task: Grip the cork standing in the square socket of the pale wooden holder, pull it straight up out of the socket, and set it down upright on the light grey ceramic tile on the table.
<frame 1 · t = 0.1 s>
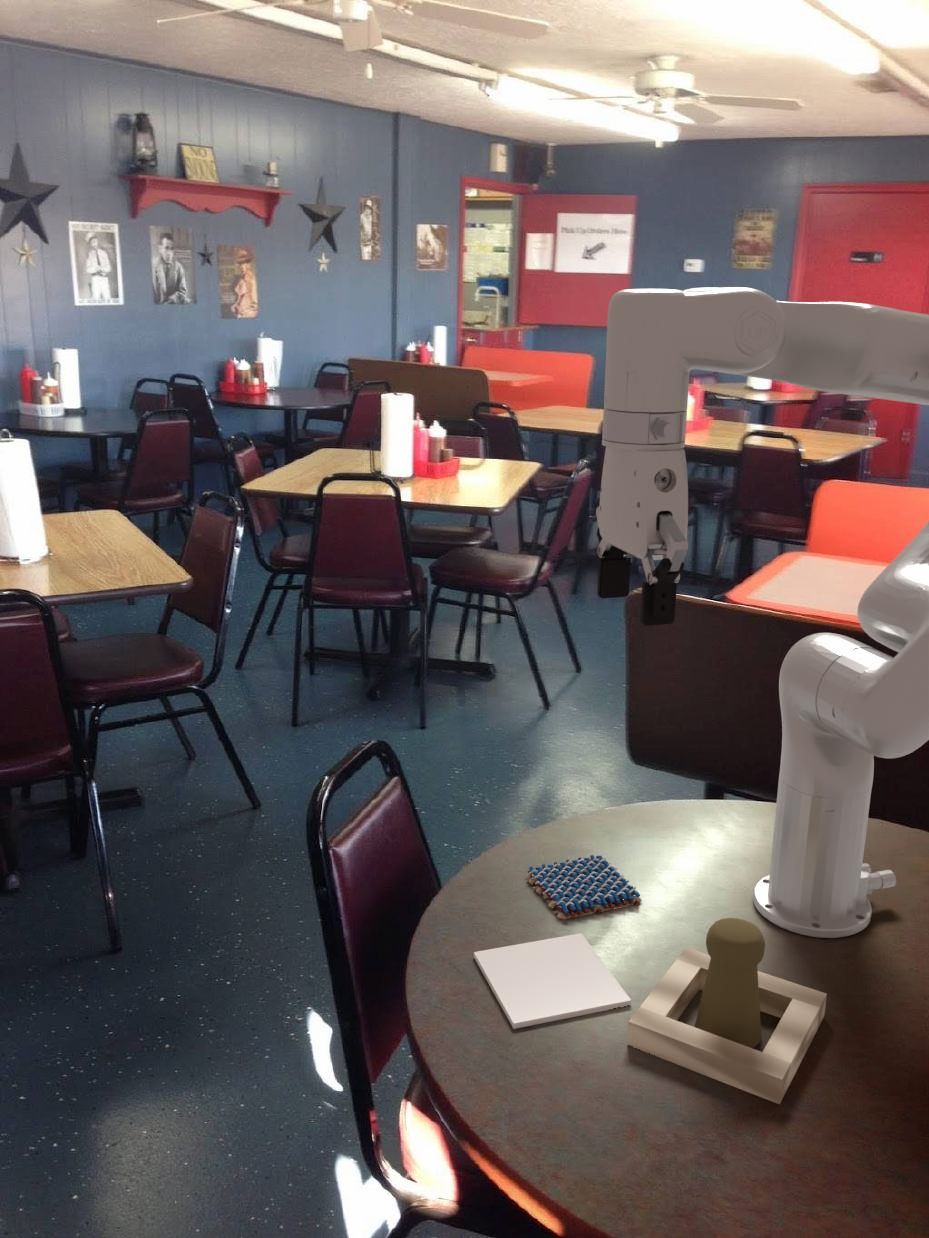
hand: (634, 609, 104), 37 cm above the table, tool pointing down, fingers open, 9 cm apart
wooden holder: (727, 1030, 101), on the table
woven mat: (581, 895, 125), on the table
cork: (727, 1032, 101), resting in wooden holder
ceramic tile: (549, 980, 108), on the table
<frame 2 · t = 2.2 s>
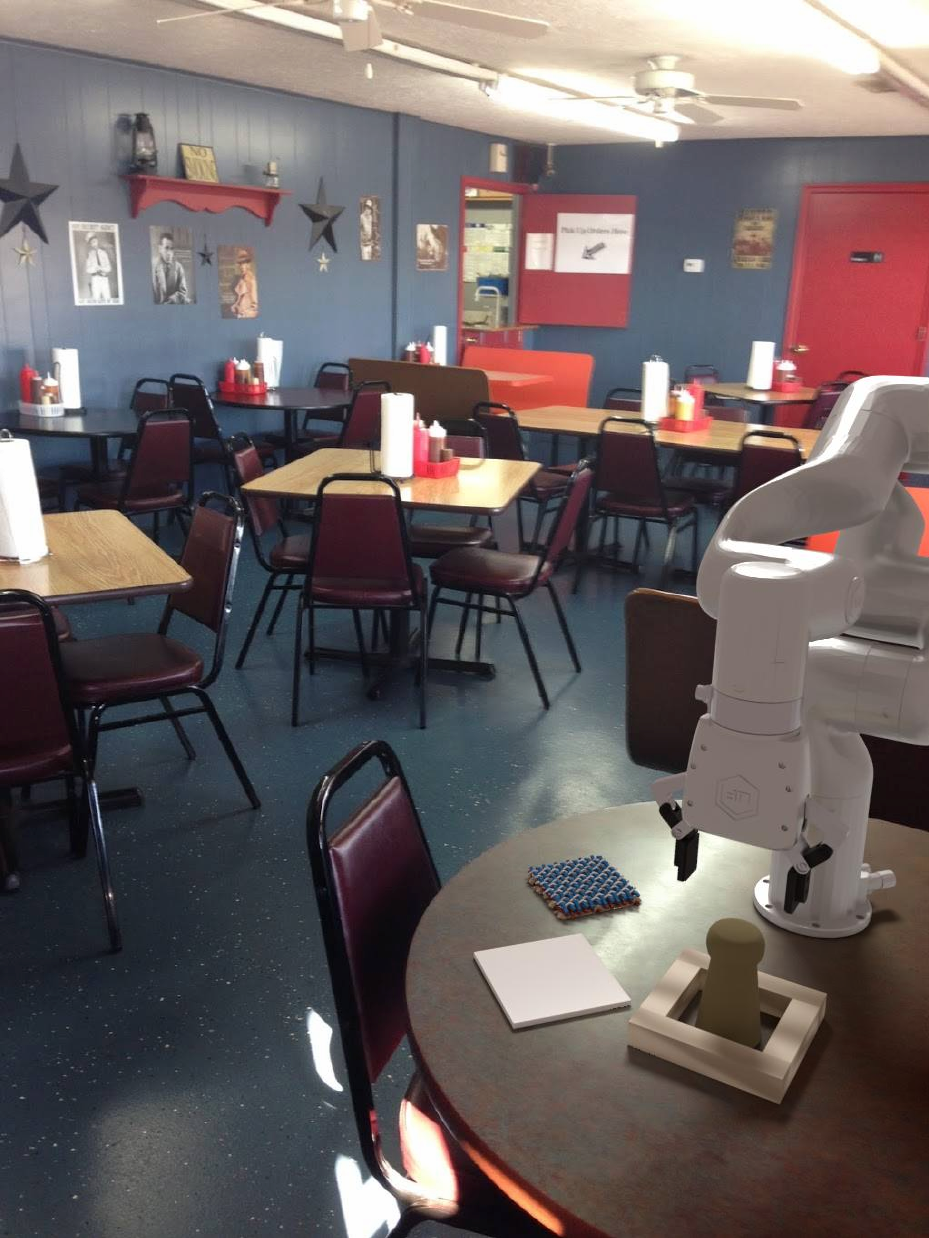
hand: (738, 890, 96), 15 cm above the table, tool pointing down, fingers open, 9 cm apart
nothing on the table moved.
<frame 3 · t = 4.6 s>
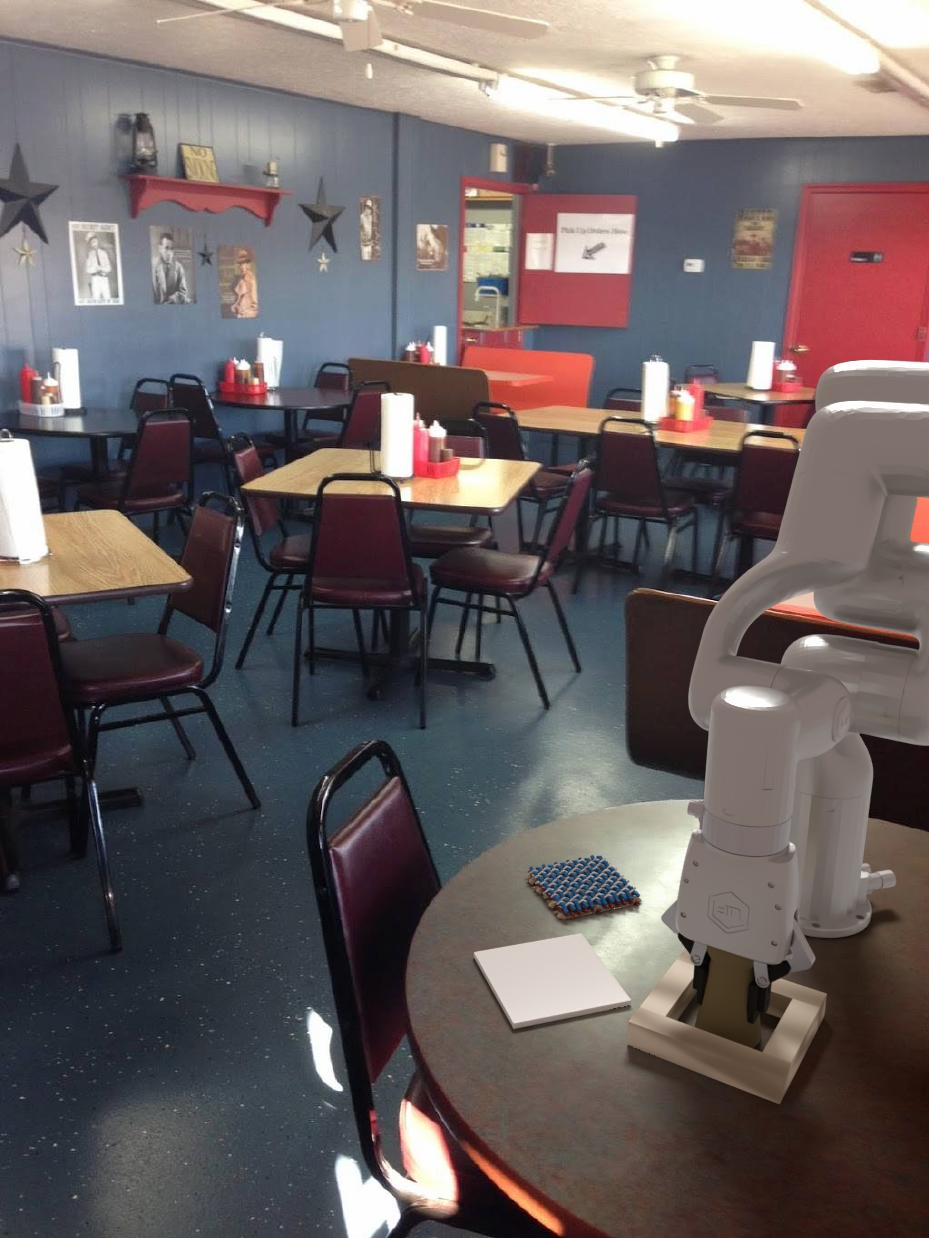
hand: (729, 1004, 100), 3 cm above the table, tool pointing down, fingers closed on cork, 4 cm apart
cork: (727, 1032, 101), resting in wooden holder, touching gripper
everything else where it was.
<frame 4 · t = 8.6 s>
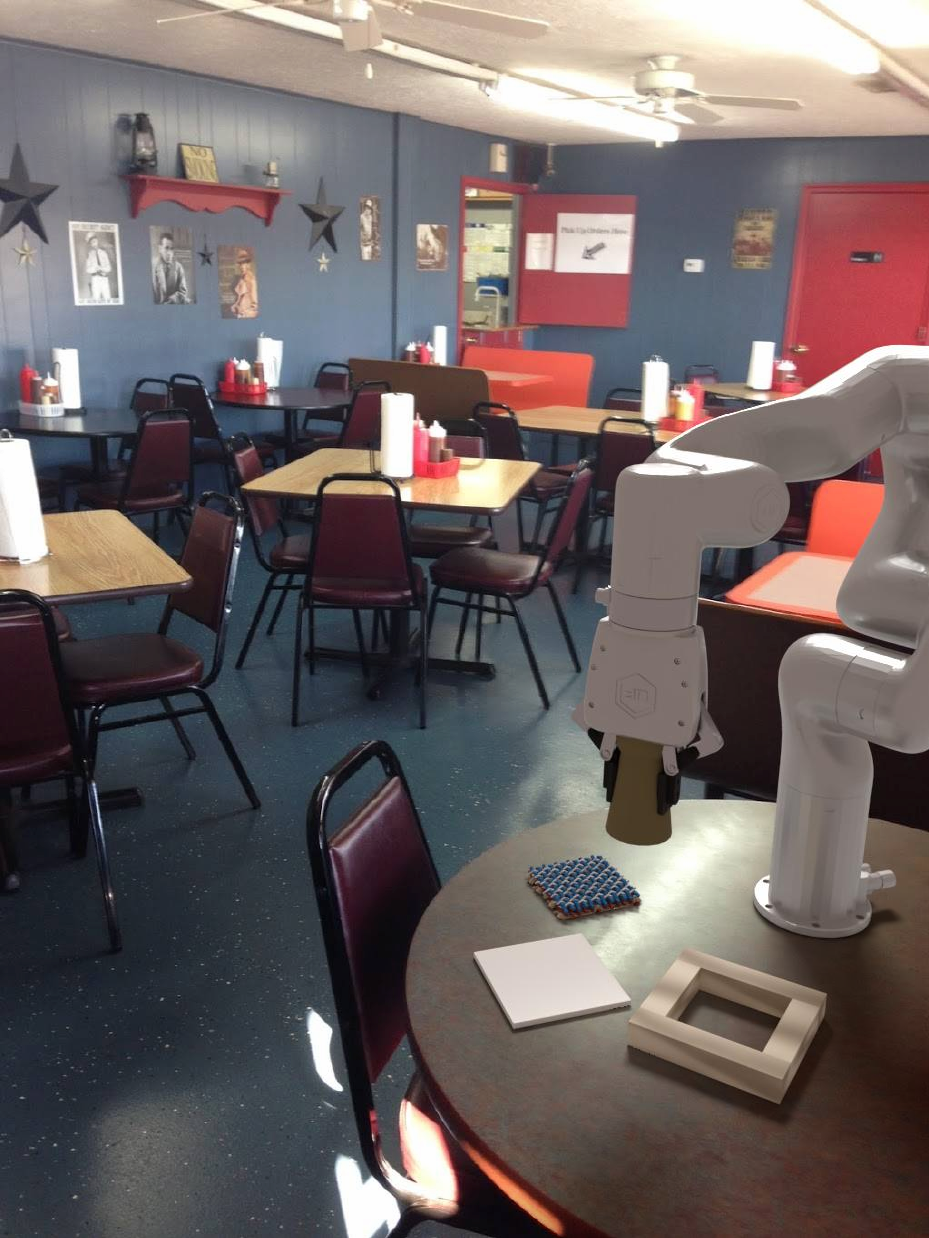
hand: (640, 801, 98), 21 cm above the table, tool pointing down, fingers closed on cork, 4 cm apart
cork: (638, 832, 99), point 18 cm above the table, touching gripper
everything else where it was.
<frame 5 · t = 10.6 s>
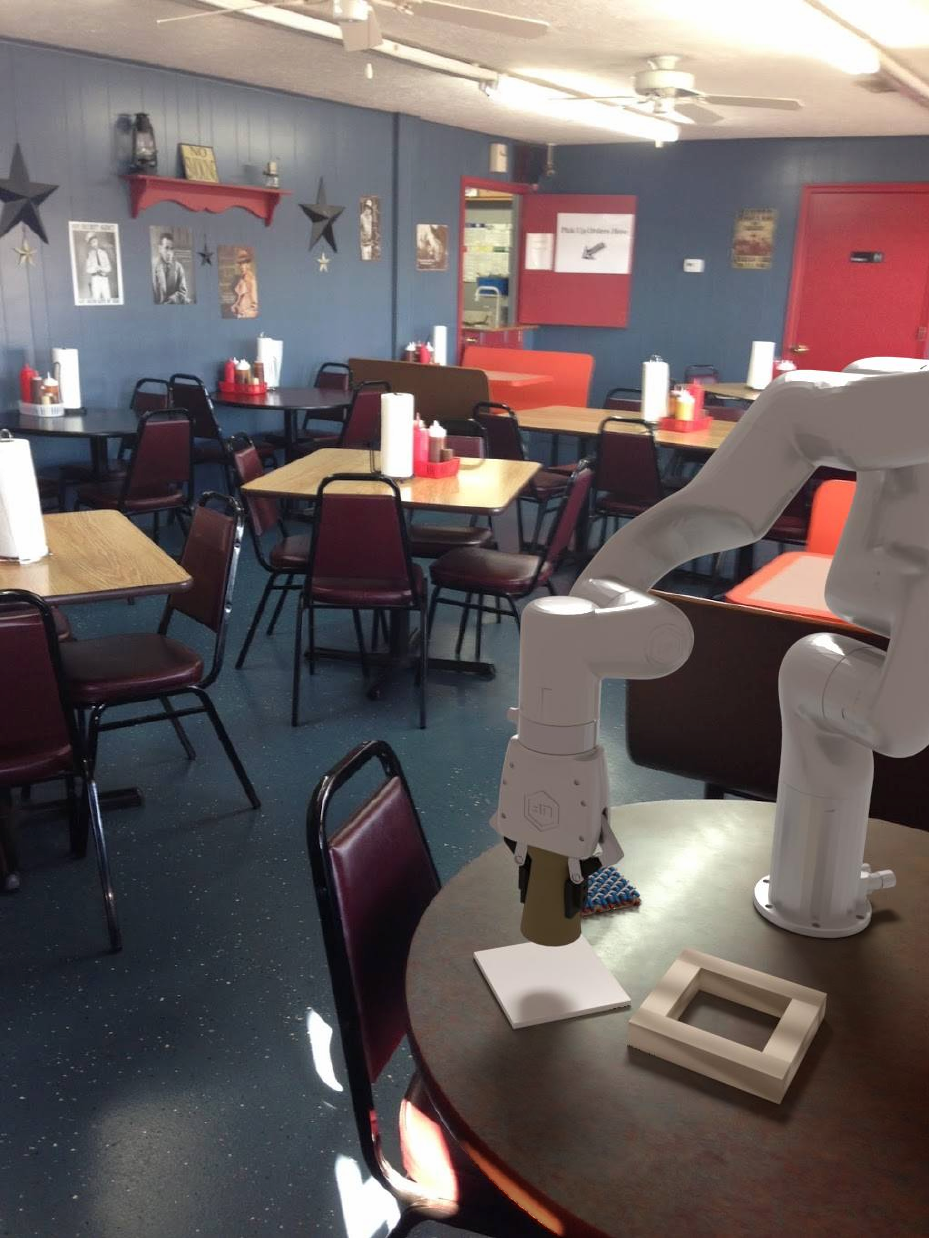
hand: (552, 903, 106), 9 cm above the table, tool pointing down, fingers closed on cork, 4 cm apart
cork: (550, 930, 106), point 6 cm above the table, touching gripper
everything else where it was.
when the fingers open (4 cm above the table, at t = 12.5 s): cork stays where it is, resting on ceramic tile.
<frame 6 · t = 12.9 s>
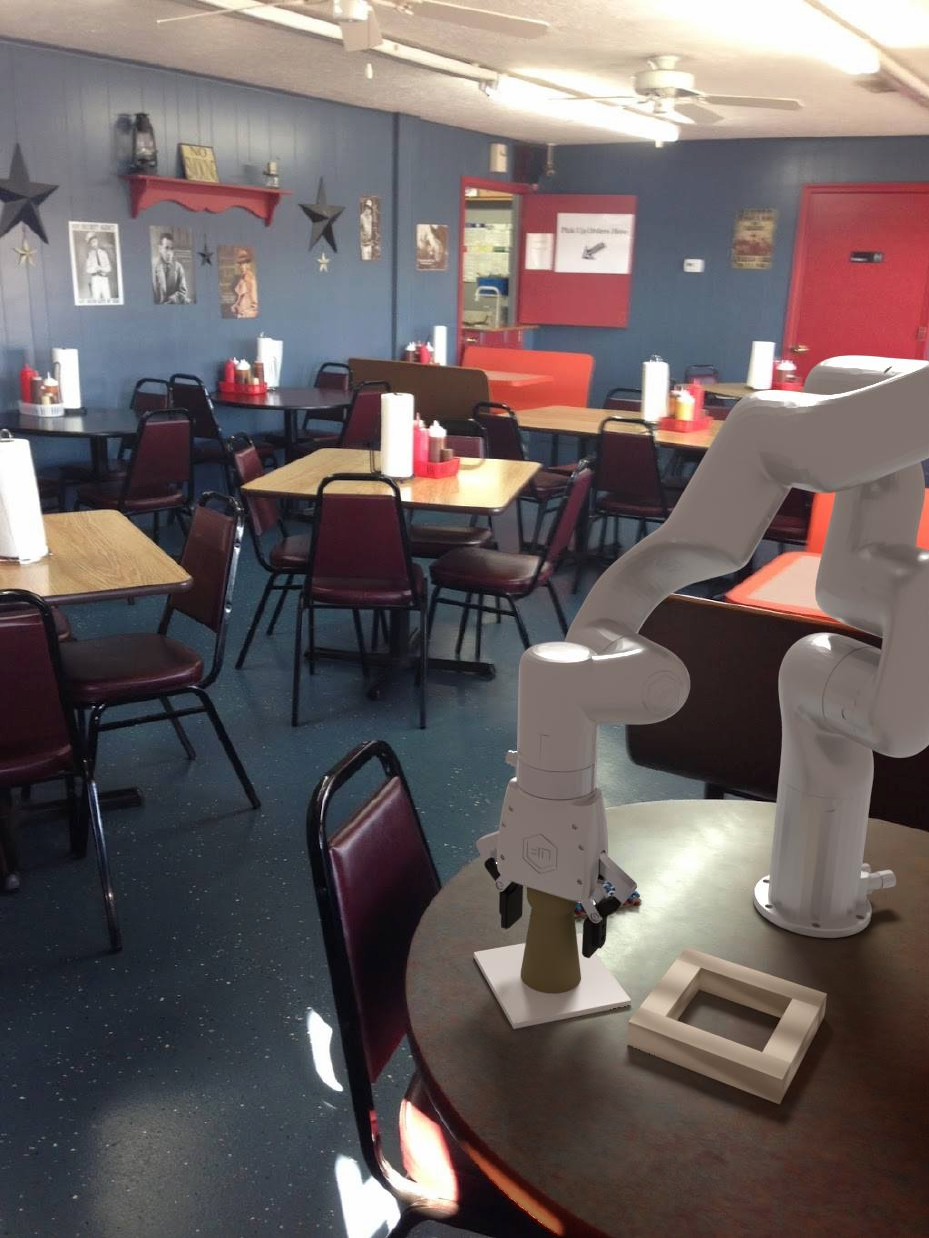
hand: (551, 935, 107), 5 cm above the table, tool pointing down, fingers open, 8 cm apart
cork: (550, 976, 108), resting on ceramic tile
everything else where it was.
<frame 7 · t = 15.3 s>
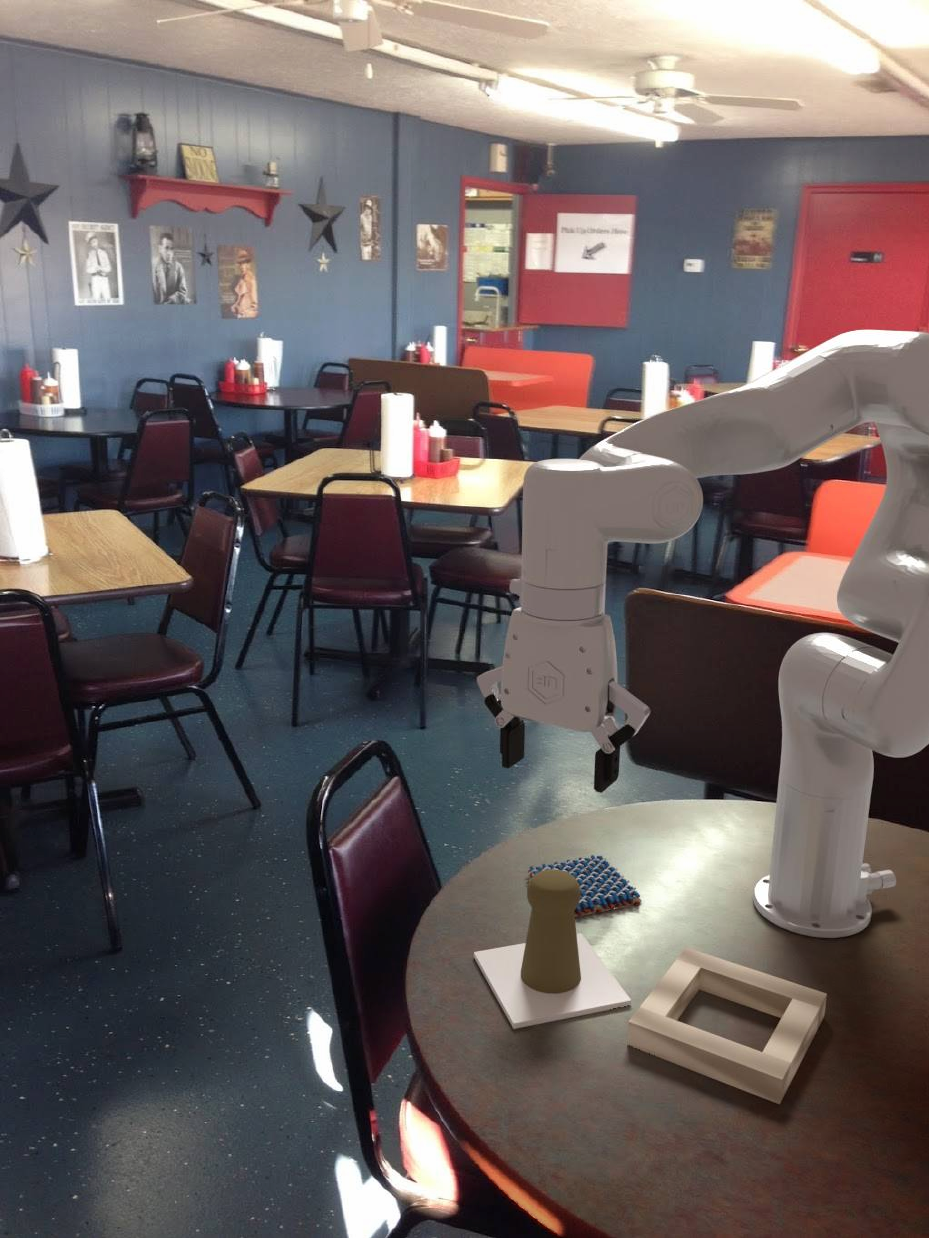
hand: (557, 774, 102), 22 cm above the table, tool pointing down, fingers open, 9 cm apart
nothing on the table moved.
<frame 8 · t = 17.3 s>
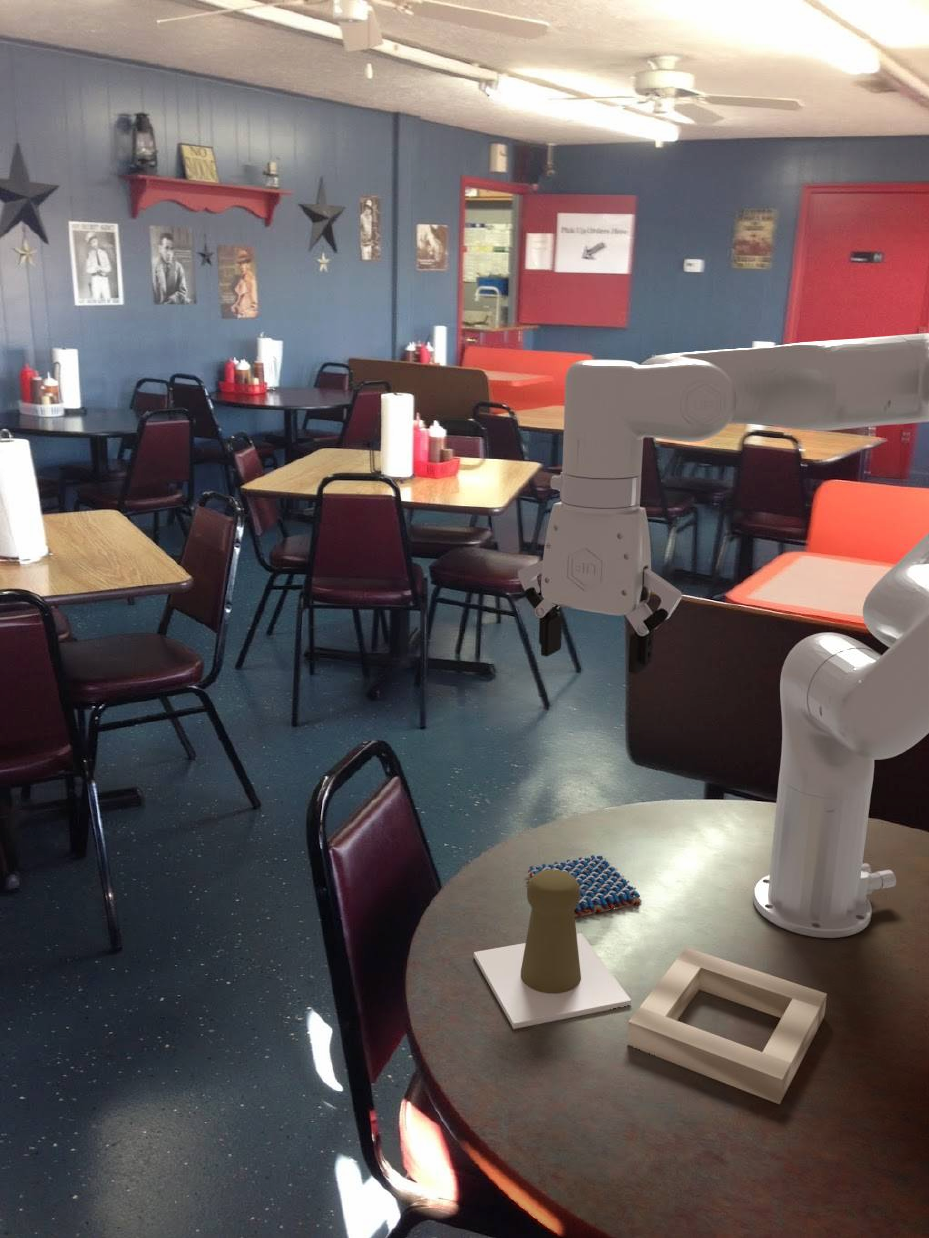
hand: (593, 661, 109), 30 cm above the table, tool pointing down, fingers open, 9 cm apart
nothing on the table moved.
at the end: cork inside the target area on the ceramic tile (0.1 cm from its centre), point 0.4 cm above the ceramic tile's base; cork tilted 0°; the gripper is holding nothing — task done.
